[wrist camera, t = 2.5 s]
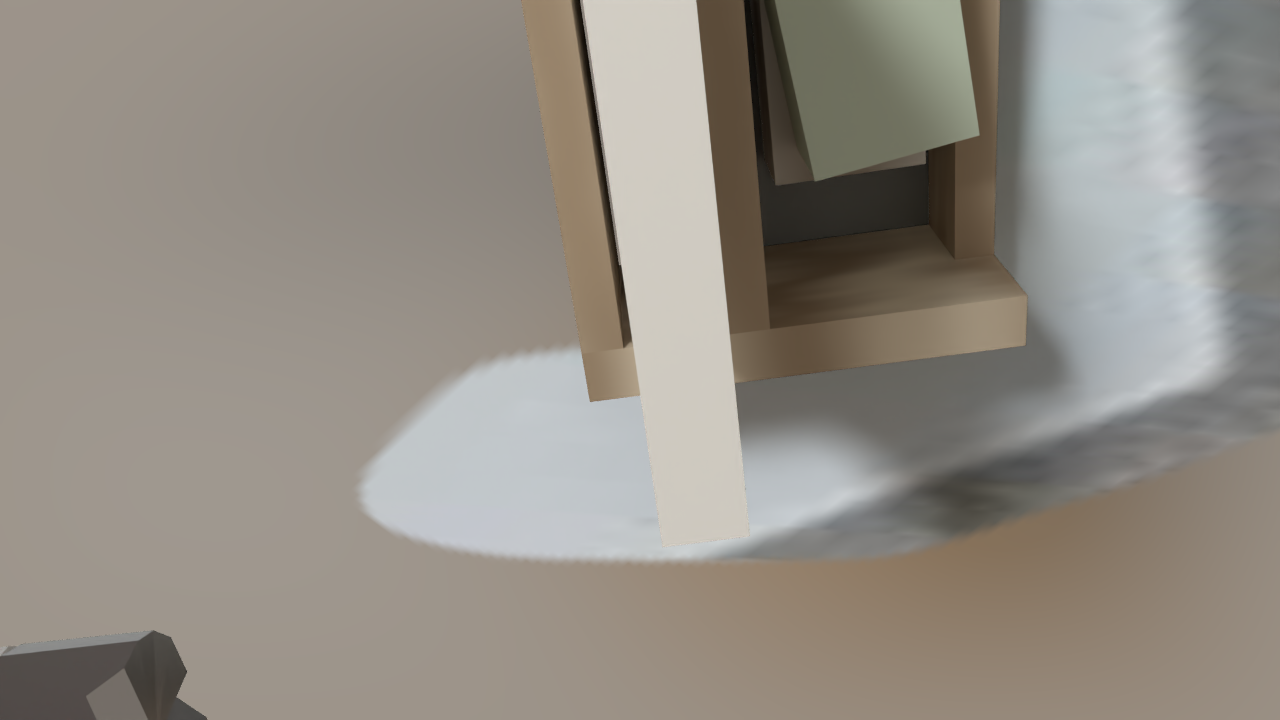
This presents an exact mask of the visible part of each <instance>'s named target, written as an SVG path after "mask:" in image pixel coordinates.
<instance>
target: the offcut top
mask: <svg viewBox="0 0 1280 720" xmlns="http://www.w3.org/2000/svg"><path fill="white" fill-rule="evenodd" d="M764 4H765V8H766V13H767V17H768V22H769V26H770V30H771V35H772V39H773V44H774V48H775V52H776V57H777V61H778V66H779V70H780V74H781V79H782V83H783V88H784V92H785V96H786V101H787V105H788V110H789V114H790V118H791V123H792V127H793V132H794V136H795V140H796V145H797V149H798V151H799V152H800V154H801V156H802V158H803V160H804V162H805V164H806V166H807V167H808V169H809V171H810V173H811V175H812V177H813V179H814V181H815V182H816V181H820V180H823V179H827V178H830V177H834V176H837V175H841V174H844V173H848V172H851V171H855V170H858V169H862V168H866V167H869V166H873V165H876V164H880V163H883V162H887V161H890V160H894V159H897V158H901V157H904V156H908V155H911V154H915V153H919V152H922V151H926V150H929V149H933V148H936V147H940V146H943V145H947V144H950V143H954V142H957V141H961V140H965V139H968V138H972V137H975V136H979V135H980V134H979V127H978V120H977V113H976V107H975V100H974V93H973V86H972V79H971V72H970V65H969V59H968V52H967V45H966V38H965V31H964V24H963V18H962V11H961V4H960V0H764Z"/></svg>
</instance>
